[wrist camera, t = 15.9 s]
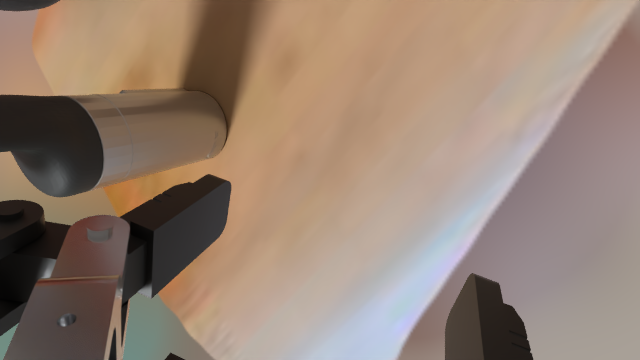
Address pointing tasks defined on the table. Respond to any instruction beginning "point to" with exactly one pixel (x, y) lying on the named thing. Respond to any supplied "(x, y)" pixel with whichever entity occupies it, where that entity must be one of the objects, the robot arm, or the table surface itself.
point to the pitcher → (25, 4)
